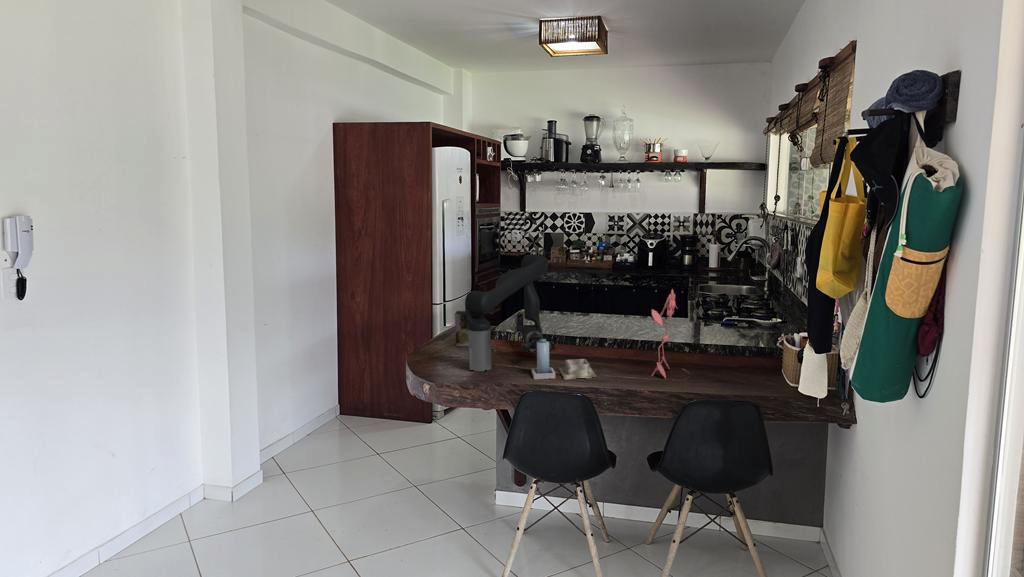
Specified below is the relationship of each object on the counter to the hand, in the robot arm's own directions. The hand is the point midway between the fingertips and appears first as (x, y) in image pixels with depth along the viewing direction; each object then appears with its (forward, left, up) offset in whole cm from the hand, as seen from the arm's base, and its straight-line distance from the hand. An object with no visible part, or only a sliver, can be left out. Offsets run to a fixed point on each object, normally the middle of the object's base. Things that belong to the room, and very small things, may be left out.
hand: (540, 350), depth 298 cm
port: (+14, -10, -8) cm, 19 cm away
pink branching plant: (+51, -17, -8) cm, 54 cm away
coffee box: (-30, +46, -8) cm, 56 cm away
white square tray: (0, -10, -8) cm, 13 cm away
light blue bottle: (0, -10, -8) cm, 13 cm away
